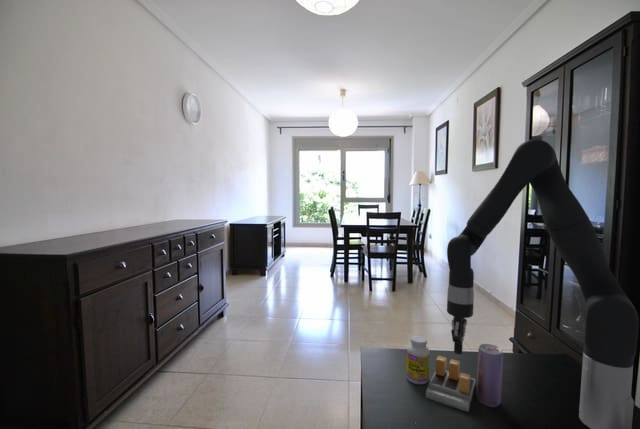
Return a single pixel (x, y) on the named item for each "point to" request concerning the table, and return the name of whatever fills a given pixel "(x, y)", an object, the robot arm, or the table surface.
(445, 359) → the wooden block
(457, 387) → the tray
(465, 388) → the tan upright block
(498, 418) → the table surface
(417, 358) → the supplement bottle
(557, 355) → the table surface
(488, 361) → the beverage can
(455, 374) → the paddle
